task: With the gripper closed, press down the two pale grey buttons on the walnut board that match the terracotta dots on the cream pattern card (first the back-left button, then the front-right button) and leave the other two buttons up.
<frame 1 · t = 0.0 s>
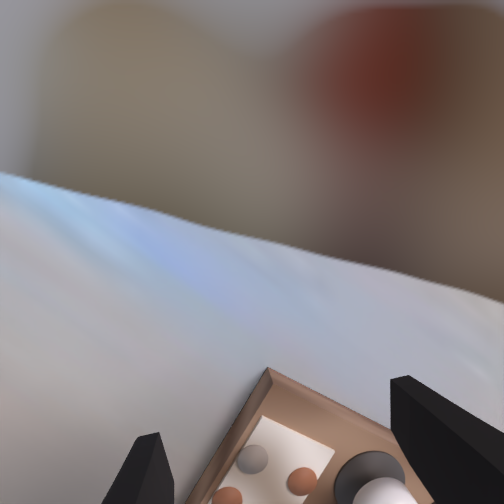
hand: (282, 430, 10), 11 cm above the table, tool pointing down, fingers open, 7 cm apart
button board: (338, 497, 23), on the table
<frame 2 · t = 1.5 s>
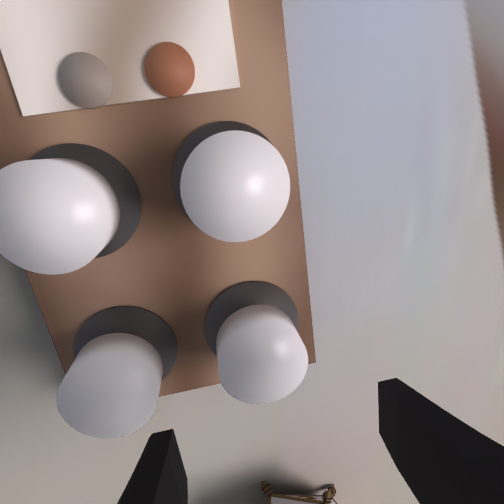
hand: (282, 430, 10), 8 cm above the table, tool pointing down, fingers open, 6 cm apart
game die: (292, 496, 23), on the table
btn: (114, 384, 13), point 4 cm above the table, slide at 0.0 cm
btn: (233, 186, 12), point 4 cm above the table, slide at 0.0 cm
button board: (164, 196, 16), on the table
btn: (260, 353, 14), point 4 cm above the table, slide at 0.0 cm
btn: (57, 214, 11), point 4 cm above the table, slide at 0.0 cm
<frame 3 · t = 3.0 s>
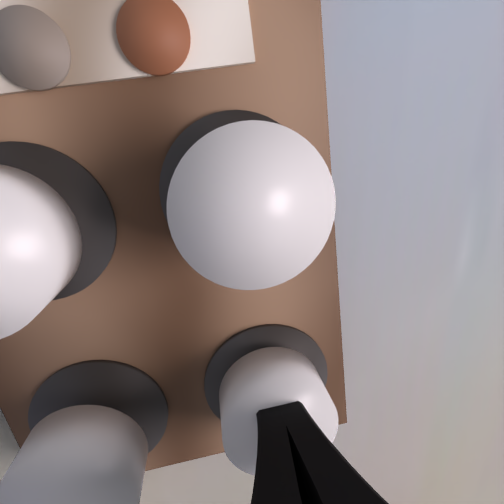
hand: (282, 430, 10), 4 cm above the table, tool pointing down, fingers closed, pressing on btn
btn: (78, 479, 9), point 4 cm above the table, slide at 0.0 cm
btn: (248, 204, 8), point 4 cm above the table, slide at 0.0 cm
button board: (151, 212, 12), on the table
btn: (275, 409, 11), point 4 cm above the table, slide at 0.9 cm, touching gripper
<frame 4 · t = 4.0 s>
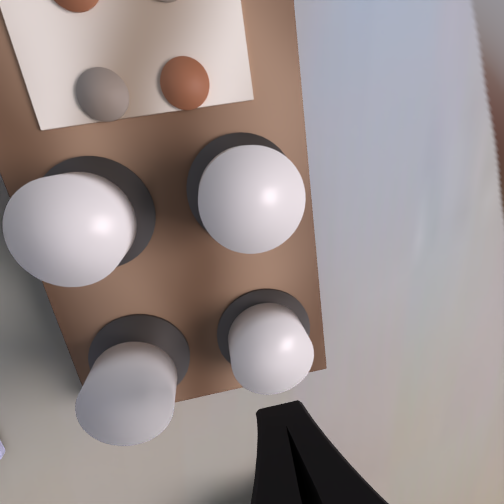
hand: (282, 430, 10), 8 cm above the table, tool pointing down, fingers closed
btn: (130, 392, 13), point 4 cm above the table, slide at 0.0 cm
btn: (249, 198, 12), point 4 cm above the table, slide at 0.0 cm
button board: (177, 205, 16), on the table
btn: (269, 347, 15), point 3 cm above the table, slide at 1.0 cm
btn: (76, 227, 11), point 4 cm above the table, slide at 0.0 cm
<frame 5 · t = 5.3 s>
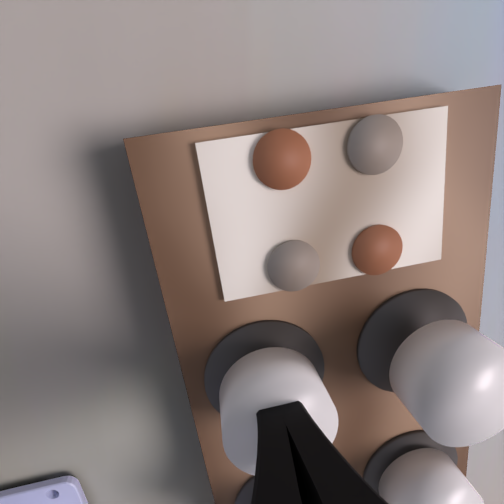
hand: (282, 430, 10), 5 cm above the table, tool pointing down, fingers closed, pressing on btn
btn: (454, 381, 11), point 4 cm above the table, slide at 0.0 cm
button board: (322, 339, 15), on the table
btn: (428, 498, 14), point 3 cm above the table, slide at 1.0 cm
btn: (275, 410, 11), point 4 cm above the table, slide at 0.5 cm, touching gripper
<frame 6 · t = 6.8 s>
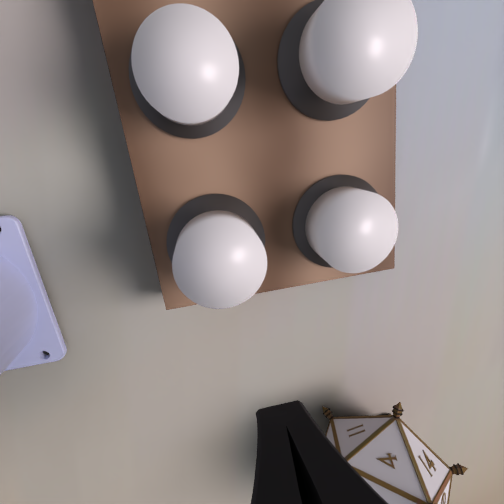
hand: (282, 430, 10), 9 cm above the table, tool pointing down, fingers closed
game die: (348, 425, 23), on the table
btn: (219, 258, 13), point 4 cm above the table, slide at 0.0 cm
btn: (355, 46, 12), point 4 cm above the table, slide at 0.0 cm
button board: (255, 91, 16), on the table
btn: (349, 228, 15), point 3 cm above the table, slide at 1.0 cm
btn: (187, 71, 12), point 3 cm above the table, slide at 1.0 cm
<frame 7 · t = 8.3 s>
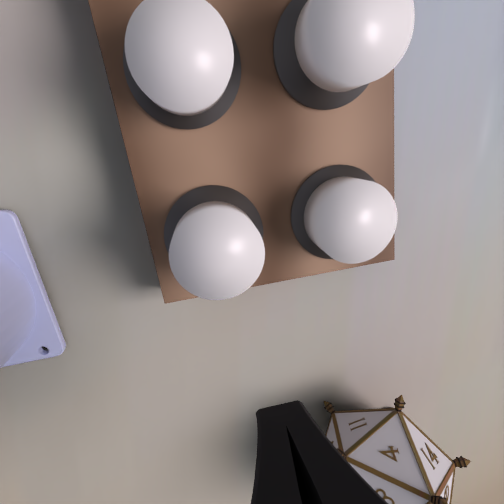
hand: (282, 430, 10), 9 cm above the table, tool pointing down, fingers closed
game die: (350, 419, 23), on the table
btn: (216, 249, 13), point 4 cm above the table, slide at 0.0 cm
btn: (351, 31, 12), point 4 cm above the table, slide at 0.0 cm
button board: (251, 82, 16), on the table
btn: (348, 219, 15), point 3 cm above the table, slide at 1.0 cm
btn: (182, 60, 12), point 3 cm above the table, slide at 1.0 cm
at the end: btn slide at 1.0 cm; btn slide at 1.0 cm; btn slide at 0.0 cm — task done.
